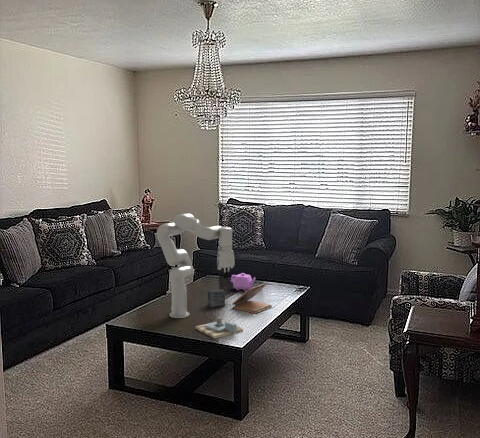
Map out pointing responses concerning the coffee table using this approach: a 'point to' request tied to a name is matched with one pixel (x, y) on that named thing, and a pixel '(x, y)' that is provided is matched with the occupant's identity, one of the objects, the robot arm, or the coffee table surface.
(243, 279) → the teapot
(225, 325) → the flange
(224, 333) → the post fixture
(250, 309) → the case
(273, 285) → the coffee table surface
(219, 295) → the small box
